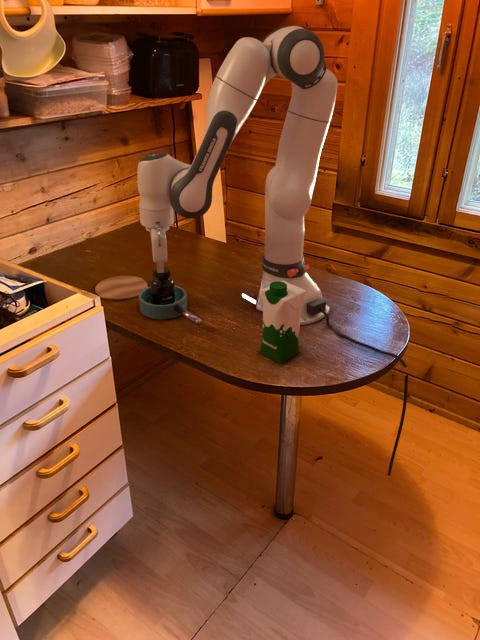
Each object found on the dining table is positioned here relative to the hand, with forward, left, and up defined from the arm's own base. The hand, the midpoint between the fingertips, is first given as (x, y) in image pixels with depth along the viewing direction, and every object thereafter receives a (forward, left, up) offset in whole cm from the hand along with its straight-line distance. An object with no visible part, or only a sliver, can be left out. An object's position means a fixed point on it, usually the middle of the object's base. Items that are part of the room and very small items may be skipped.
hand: (159, 264), depth 142 cm
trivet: (+19, +3, -14) cm, 24 cm away
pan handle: (-12, 0, -12) cm, 17 cm away
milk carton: (-38, -10, -14) cm, 42 cm away
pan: (0, 0, -14) cm, 14 cm away
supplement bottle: (0, 0, -14) cm, 14 cm away
